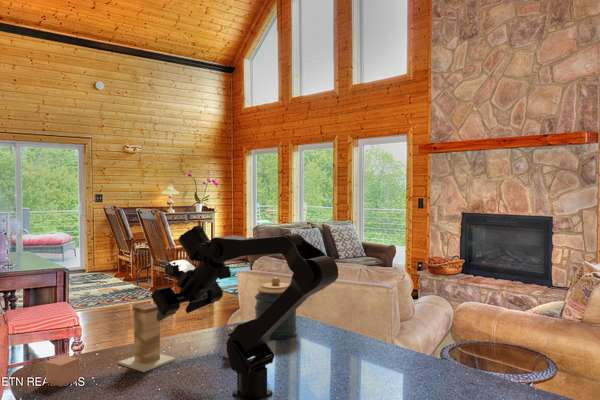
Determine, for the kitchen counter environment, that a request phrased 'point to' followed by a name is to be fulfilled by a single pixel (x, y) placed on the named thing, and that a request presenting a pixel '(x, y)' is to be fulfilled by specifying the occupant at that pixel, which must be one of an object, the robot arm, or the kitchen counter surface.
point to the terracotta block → (62, 370)
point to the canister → (266, 298)
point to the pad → (146, 367)
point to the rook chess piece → (228, 331)
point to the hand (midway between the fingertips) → (172, 315)
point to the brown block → (146, 333)
